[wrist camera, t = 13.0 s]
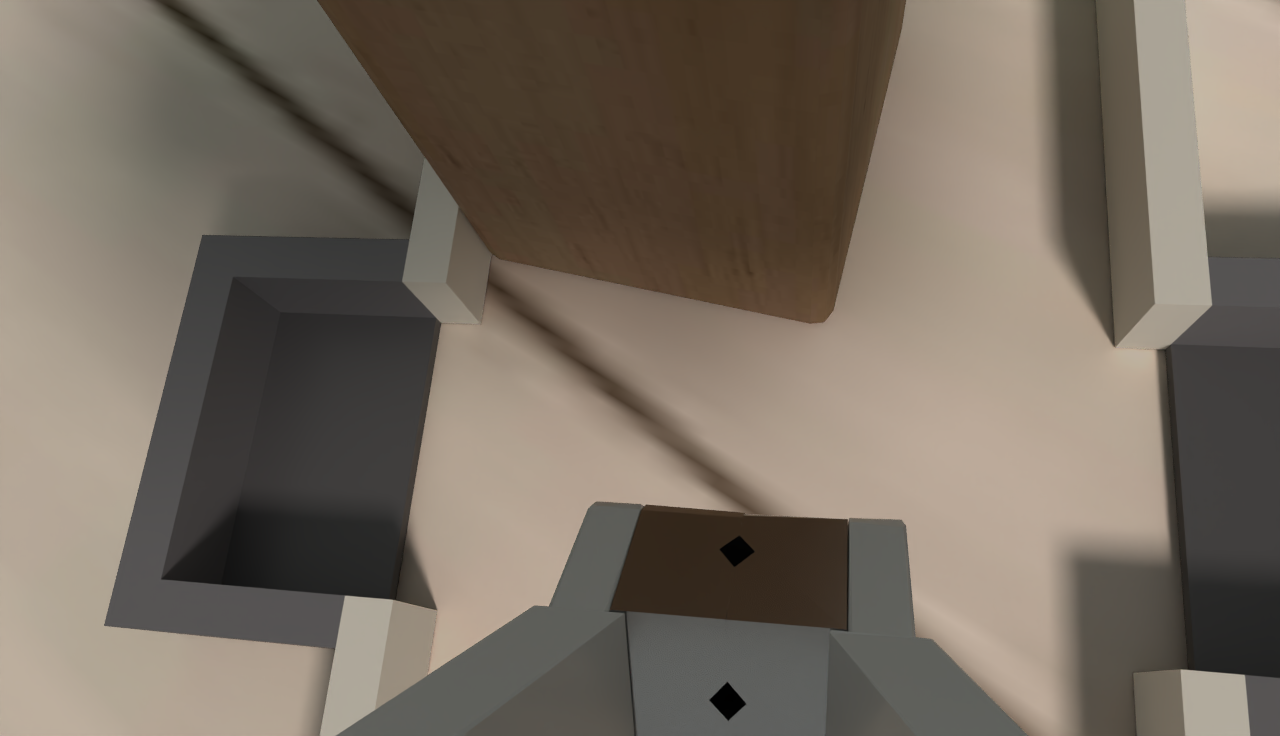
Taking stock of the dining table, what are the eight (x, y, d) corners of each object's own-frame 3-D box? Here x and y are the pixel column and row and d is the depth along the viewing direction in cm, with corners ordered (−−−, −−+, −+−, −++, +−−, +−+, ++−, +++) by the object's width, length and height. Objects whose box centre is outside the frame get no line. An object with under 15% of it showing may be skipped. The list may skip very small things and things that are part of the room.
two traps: (1493, 762, 21) (1600, 772, 18) (177, 633, 27) (104, 625, 24) (1422, 313, 24) (1504, 263, 22) (258, 278, 30) (202, 234, 27)
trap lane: (1245, 1461, 18) (1400, 1722, 14) (286, 1255, 22) (145, 1409, 17) (1130, -126, 30) (1193, -281, 25) (511, -102, 33) (464, -234, 28)
